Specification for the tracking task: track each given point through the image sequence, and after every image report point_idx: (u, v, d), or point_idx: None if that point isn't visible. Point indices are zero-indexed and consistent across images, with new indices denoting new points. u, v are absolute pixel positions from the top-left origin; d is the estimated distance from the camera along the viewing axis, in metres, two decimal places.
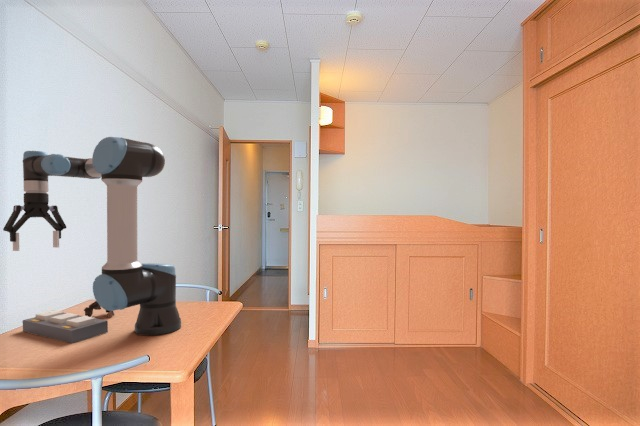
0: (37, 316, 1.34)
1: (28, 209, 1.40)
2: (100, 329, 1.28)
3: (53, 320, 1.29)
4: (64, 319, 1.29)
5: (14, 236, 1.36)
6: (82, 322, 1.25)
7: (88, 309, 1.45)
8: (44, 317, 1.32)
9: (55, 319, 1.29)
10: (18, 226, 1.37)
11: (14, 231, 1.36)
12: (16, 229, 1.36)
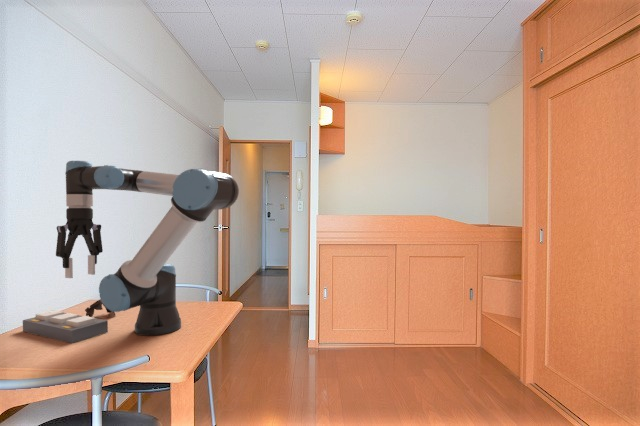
0: (37, 316, 1.34)
1: (72, 226, 1.24)
2: (100, 329, 1.28)
3: (53, 320, 1.29)
4: (64, 319, 1.29)
5: (67, 262, 1.23)
6: (82, 322, 1.25)
7: (89, 309, 1.45)
8: (44, 317, 1.32)
9: (55, 319, 1.29)
10: (69, 250, 1.23)
11: (68, 256, 1.23)
12: (69, 254, 1.23)
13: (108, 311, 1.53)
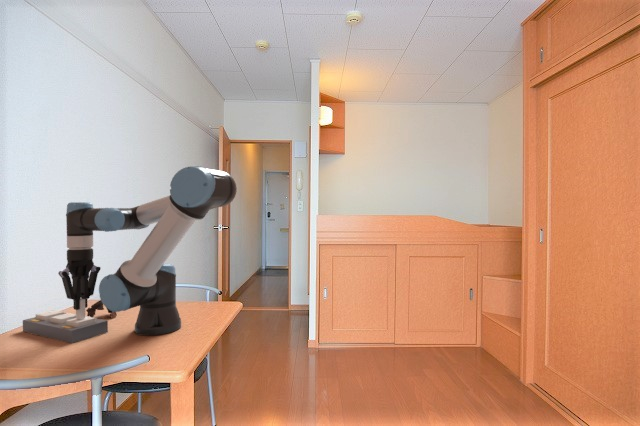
0: (37, 316, 1.34)
1: (73, 268, 1.25)
2: (100, 329, 1.28)
3: (53, 320, 1.29)
4: (64, 319, 1.29)
5: (78, 304, 1.26)
6: (82, 322, 1.25)
7: (91, 309, 1.45)
8: (44, 317, 1.32)
9: (55, 319, 1.29)
10: (78, 292, 1.26)
11: (79, 298, 1.26)
12: (79, 295, 1.26)
13: (109, 311, 1.53)
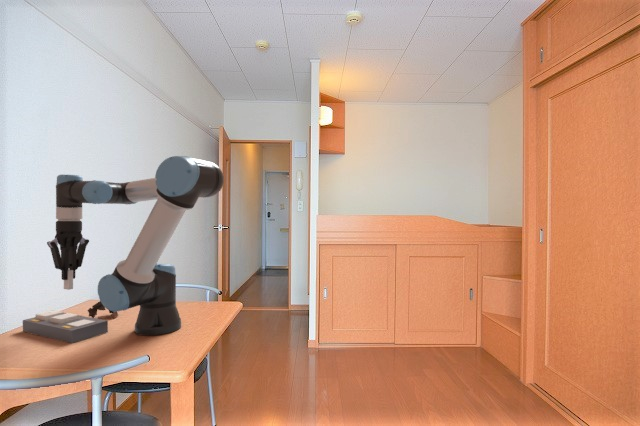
0: (37, 316, 1.34)
1: (62, 239, 1.27)
2: (100, 329, 1.28)
3: (53, 320, 1.29)
4: (64, 319, 1.29)
5: (66, 274, 1.29)
6: None
7: (92, 310, 1.44)
8: (44, 317, 1.32)
9: (55, 319, 1.29)
10: (66, 263, 1.28)
11: (67, 269, 1.29)
12: (67, 266, 1.29)
13: (110, 311, 1.53)
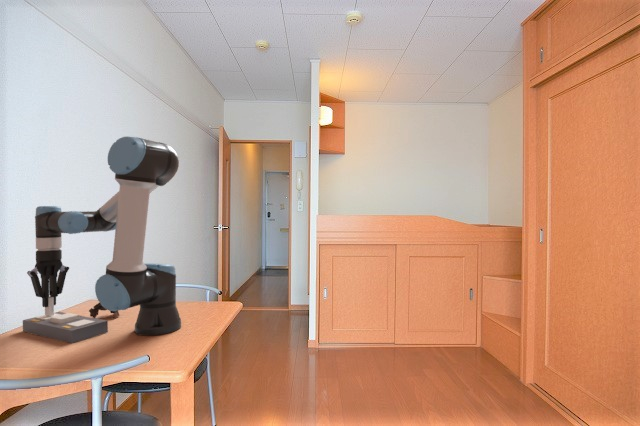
0: None
1: (42, 268, 1.32)
2: (100, 329, 1.28)
3: (53, 320, 1.29)
4: (64, 319, 1.29)
5: (46, 301, 1.34)
6: None
7: (94, 310, 1.44)
8: (44, 320, 1.32)
9: (55, 319, 1.29)
10: (46, 290, 1.34)
11: (47, 296, 1.34)
12: (47, 294, 1.34)
13: (112, 312, 1.52)
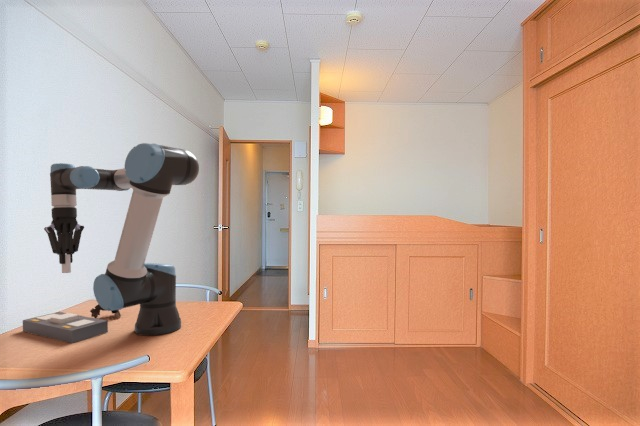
0: None
1: (58, 224, 1.34)
2: (100, 329, 1.28)
3: (53, 320, 1.29)
4: (64, 319, 1.29)
5: (63, 258, 1.35)
6: None
7: (95, 310, 1.44)
8: None
9: (55, 319, 1.29)
10: (63, 247, 1.35)
11: (64, 253, 1.35)
12: (64, 250, 1.35)
13: (113, 312, 1.52)
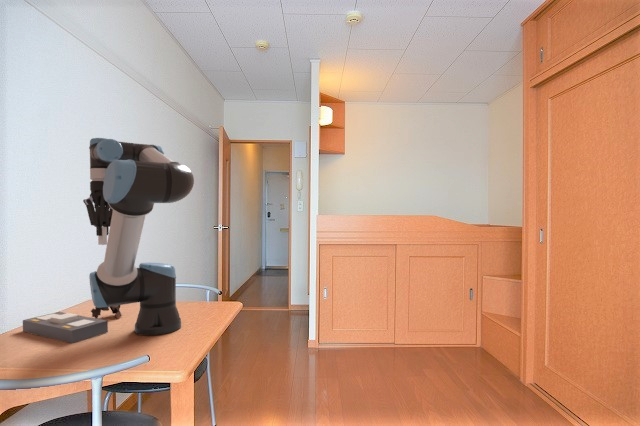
0: None
1: (96, 197, 1.38)
2: (100, 329, 1.28)
3: (53, 320, 1.29)
4: (64, 319, 1.29)
5: (100, 230, 1.40)
6: None
7: (96, 310, 1.43)
8: None
9: (55, 319, 1.29)
10: (100, 219, 1.39)
11: (101, 225, 1.39)
12: (101, 223, 1.39)
13: (114, 312, 1.52)
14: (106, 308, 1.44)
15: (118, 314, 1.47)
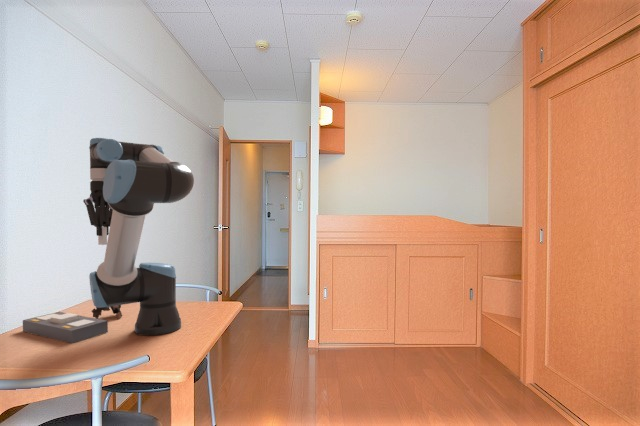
0: None
1: (96, 197, 1.38)
2: (100, 329, 1.28)
3: (53, 320, 1.29)
4: (64, 319, 1.29)
5: (100, 230, 1.40)
6: None
7: (96, 310, 1.43)
8: None
9: (55, 319, 1.29)
10: (100, 219, 1.39)
11: (101, 225, 1.39)
12: (101, 223, 1.39)
13: (114, 312, 1.52)
14: (107, 308, 1.44)
15: (119, 314, 1.47)
